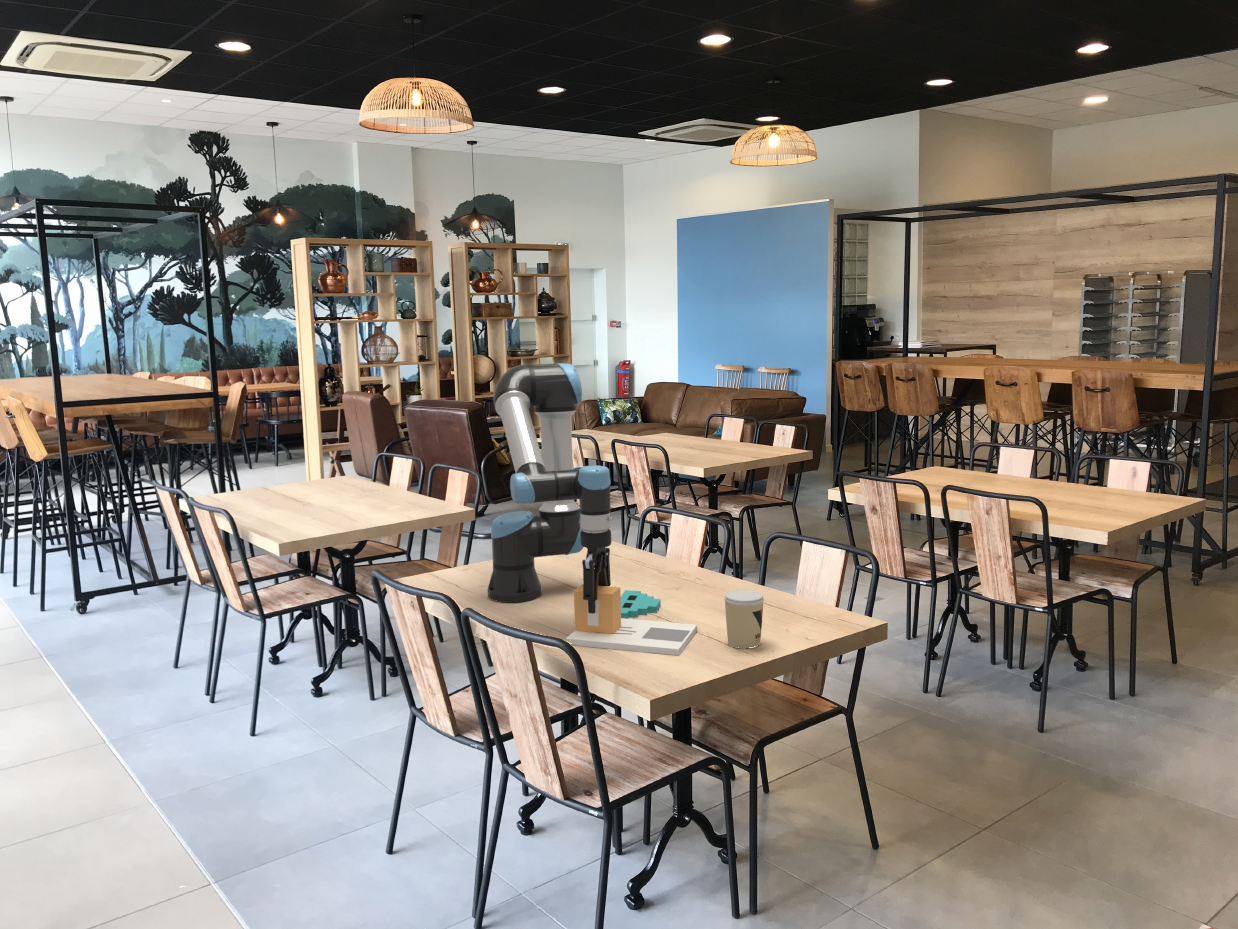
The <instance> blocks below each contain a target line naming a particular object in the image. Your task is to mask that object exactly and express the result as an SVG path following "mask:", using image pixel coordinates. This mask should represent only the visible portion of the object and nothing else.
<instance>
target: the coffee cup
mask: <svg viewBox="0 0 1238 929" xmlns="http://www.w3.org/2000/svg"><path fill="white" fill-rule="evenodd" d="M723 600H724V605H725V606H724V607H725V608H724V609H725V621H726V635H727V637H726V638H727V643H728V645H729V646H730V645H731V646H730V647H732V646H733V648H734V647H737V648H736V649H739V648H749V647H754V646H757V645H759V644H760V645H761V640H762V629H763V628H762V626H763V613H764V602H765V597H764V596H763V593H761V592H759V591H755V590H751V589H737V590H736V589H735V590H731V591H728V592H726V594H725V595H724V599H723ZM760 645H759V646H760ZM738 647H739V648H738Z"/></svg>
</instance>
